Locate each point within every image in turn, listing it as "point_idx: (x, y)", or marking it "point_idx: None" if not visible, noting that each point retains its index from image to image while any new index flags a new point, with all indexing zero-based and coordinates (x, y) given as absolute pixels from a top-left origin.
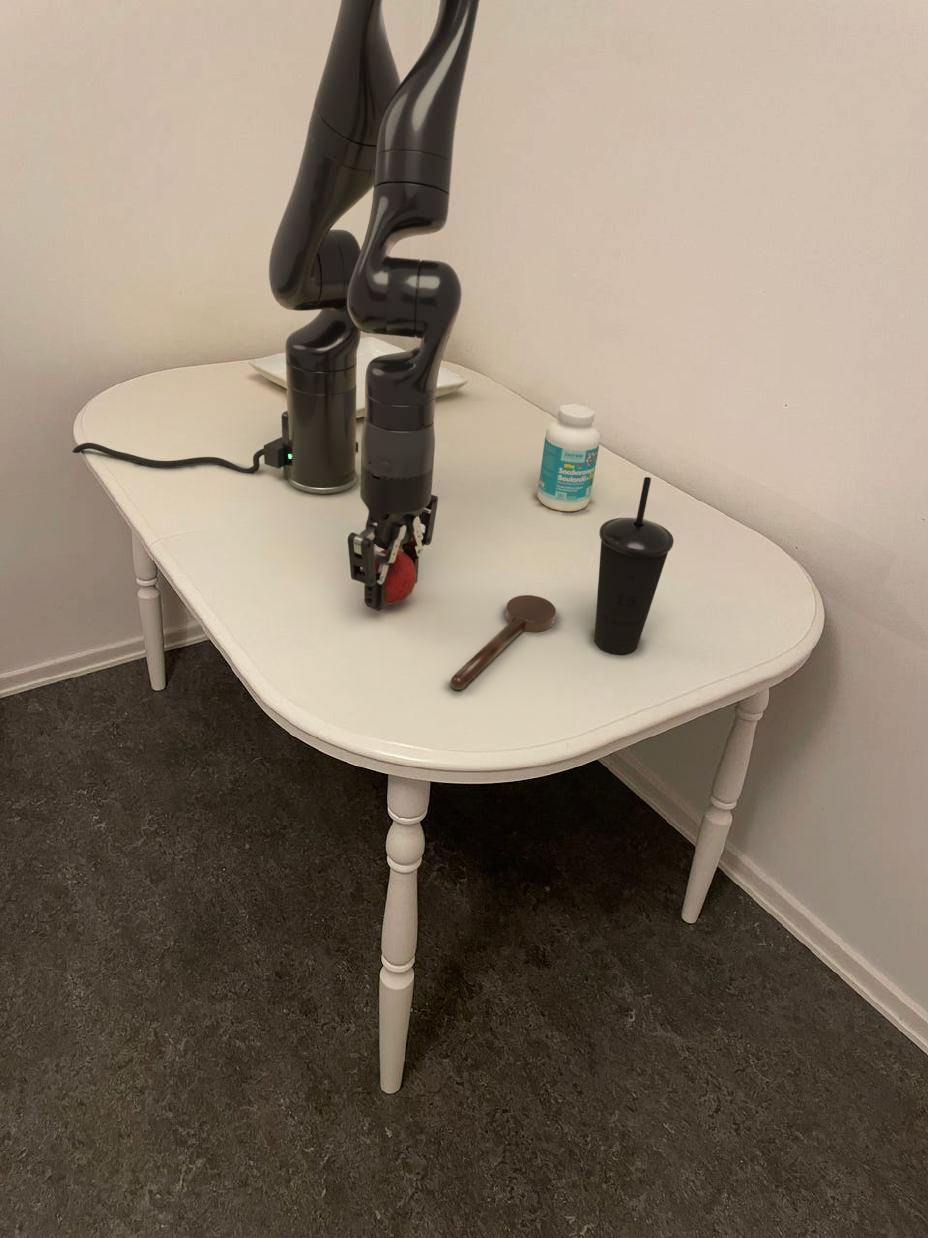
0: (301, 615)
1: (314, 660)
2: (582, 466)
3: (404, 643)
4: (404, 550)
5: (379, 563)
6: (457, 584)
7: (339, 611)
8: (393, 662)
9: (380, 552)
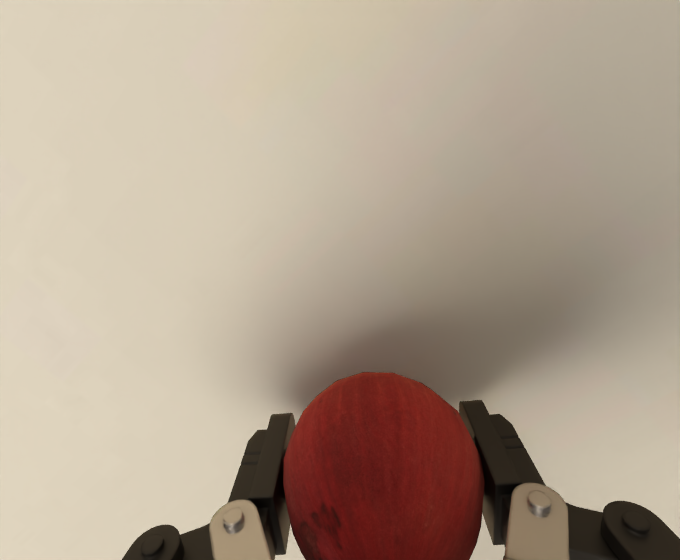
0: (141, 252)
1: (47, 416)
2: None
3: None
4: (508, 517)
5: (312, 549)
6: (593, 455)
7: (246, 318)
8: None
9: (366, 538)
